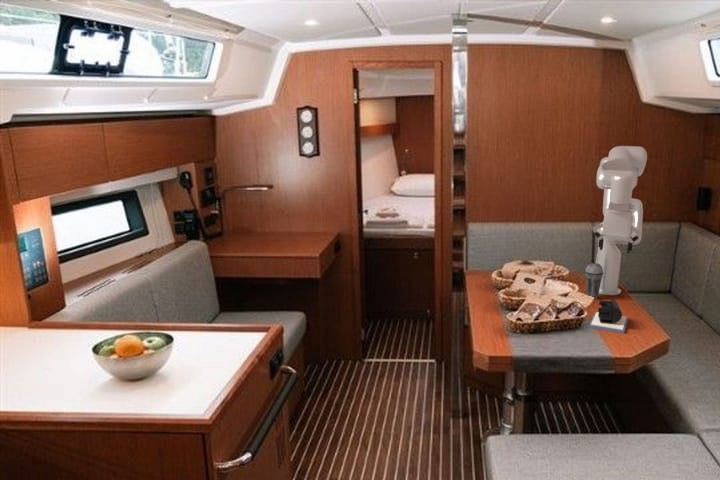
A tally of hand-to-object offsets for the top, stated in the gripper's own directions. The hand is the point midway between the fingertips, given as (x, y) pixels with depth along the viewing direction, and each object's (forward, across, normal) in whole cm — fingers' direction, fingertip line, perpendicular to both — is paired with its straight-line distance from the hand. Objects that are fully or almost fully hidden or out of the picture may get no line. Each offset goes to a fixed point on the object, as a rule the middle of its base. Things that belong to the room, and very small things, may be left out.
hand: (614, 250), depth 222 cm
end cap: (+25, -1, +10) cm, 27 cm away
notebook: (+26, -1, +10) cm, 28 cm away
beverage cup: (+28, +9, -19) cm, 35 cm away
